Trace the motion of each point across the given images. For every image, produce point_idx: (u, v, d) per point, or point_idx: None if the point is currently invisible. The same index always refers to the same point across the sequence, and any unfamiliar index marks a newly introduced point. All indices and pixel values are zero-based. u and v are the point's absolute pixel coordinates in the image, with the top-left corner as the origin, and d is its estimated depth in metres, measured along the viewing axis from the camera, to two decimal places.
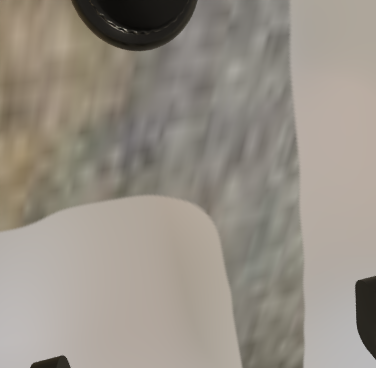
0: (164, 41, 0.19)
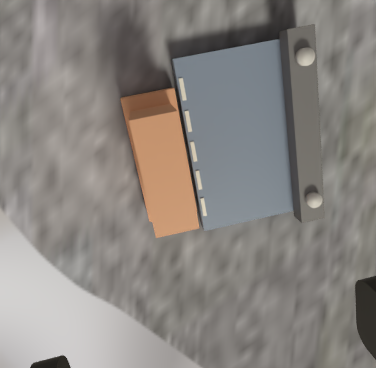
0: None
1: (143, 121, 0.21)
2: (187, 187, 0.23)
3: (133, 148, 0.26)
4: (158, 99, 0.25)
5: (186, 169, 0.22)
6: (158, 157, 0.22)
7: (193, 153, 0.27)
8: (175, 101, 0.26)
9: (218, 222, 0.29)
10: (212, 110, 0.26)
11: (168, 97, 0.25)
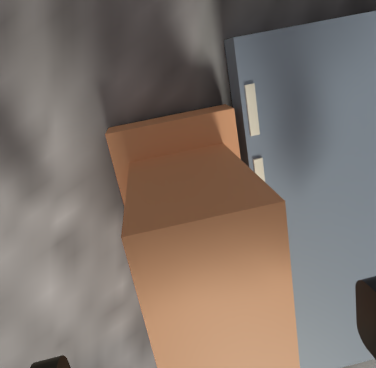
0: None
1: (170, 237, 0.06)
2: None
3: None
4: (195, 134, 0.11)
5: (293, 358, 0.08)
6: (213, 335, 0.07)
7: None
8: (235, 138, 0.11)
9: None
10: (314, 156, 0.12)
11: (219, 129, 0.11)
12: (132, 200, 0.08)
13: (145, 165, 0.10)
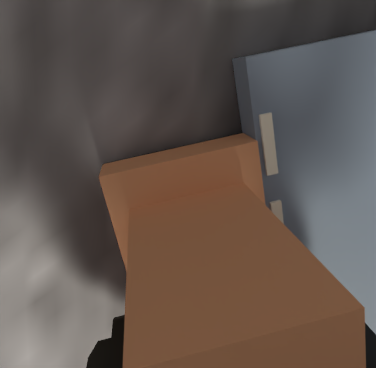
0: None
1: (195, 367, 0.04)
2: None
3: None
4: (210, 173, 0.09)
5: None
6: None
7: None
8: (258, 177, 0.09)
9: None
10: (342, 196, 0.10)
11: (239, 167, 0.09)
12: (135, 284, 0.06)
13: (149, 216, 0.08)
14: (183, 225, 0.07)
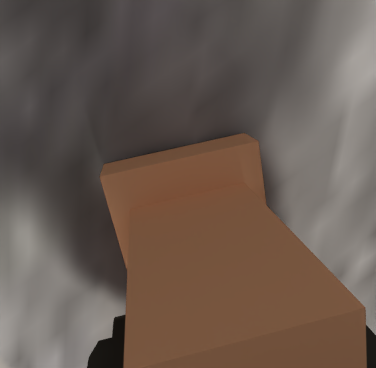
0: None
1: (196, 367, 0.04)
2: None
3: None
4: (211, 173, 0.09)
5: None
6: None
7: None
8: (259, 177, 0.09)
9: None
10: None
11: (240, 167, 0.09)
12: (136, 284, 0.06)
13: (150, 216, 0.08)
14: (184, 225, 0.07)
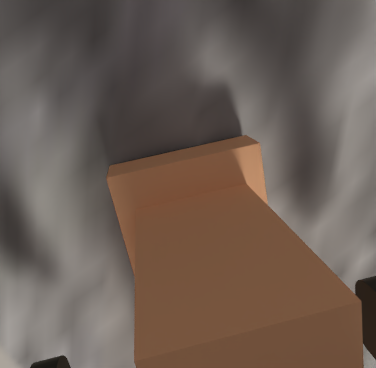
0: None
1: (202, 357, 0.04)
2: None
3: None
4: (214, 174, 0.09)
5: None
6: None
7: None
8: (260, 178, 0.09)
9: None
10: None
11: (242, 168, 0.09)
12: (144, 281, 0.06)
13: (155, 216, 0.08)
14: (188, 224, 0.08)
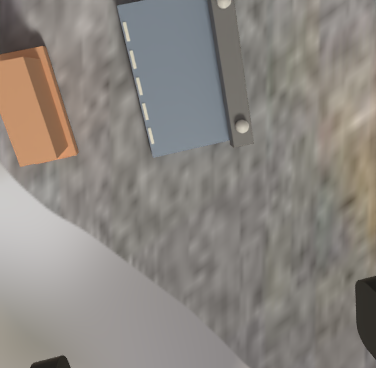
0: None
1: None
2: (41, 122, 0.27)
3: None
4: (29, 55, 0.30)
5: (37, 107, 0.27)
6: (12, 97, 0.27)
7: (139, 87, 0.33)
8: (44, 57, 0.31)
9: (165, 150, 0.35)
10: (153, 50, 0.32)
11: (38, 53, 0.30)
12: None
13: None
14: None
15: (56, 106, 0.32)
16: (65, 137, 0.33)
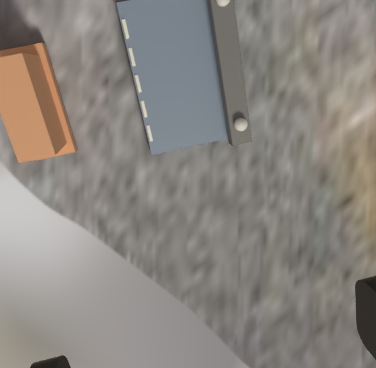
0: None
1: None
2: (39, 118, 0.28)
3: None
4: (28, 52, 0.30)
5: (36, 103, 0.27)
6: (10, 93, 0.27)
7: (138, 85, 0.33)
8: (43, 54, 0.31)
9: (163, 147, 0.35)
10: (152, 47, 0.32)
11: (37, 50, 0.30)
12: None
13: None
14: None
15: (55, 103, 0.32)
16: (64, 134, 0.33)
